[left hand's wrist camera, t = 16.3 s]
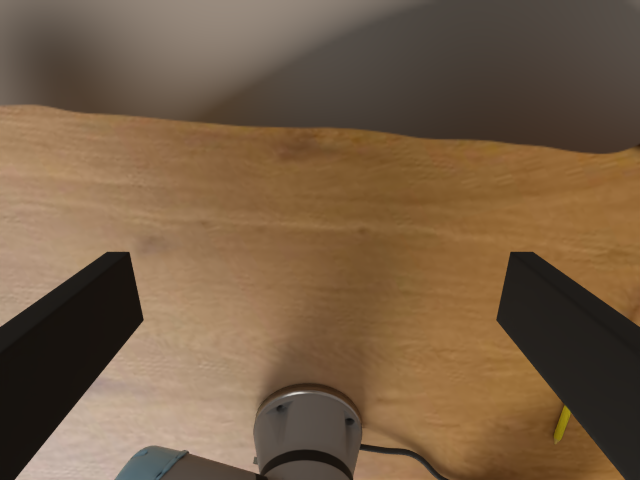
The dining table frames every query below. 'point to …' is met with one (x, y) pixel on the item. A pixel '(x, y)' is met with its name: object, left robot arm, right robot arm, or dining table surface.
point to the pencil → (561, 424)
